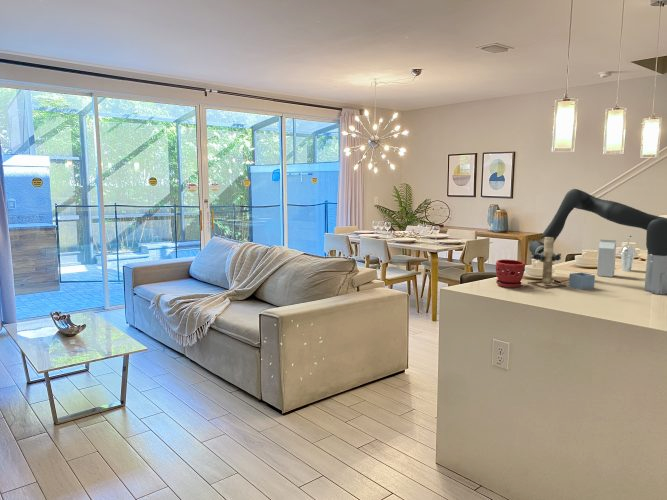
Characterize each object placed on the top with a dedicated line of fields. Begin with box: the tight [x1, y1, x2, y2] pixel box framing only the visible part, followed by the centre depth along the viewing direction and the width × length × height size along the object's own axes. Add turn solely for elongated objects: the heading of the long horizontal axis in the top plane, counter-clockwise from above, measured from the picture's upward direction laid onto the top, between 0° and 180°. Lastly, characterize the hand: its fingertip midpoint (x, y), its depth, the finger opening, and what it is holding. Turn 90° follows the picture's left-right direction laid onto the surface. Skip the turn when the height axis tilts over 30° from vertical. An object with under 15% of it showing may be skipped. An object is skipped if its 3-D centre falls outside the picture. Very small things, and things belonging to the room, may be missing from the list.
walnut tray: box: [527, 280, 567, 290], centre depth 235 cm, size 12×12×2 cm
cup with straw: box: [618, 235, 637, 272], centre depth 274 cm, size 8×9×20 cm
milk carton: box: [596, 239, 617, 278], centre depth 260 cm, size 7×7×19 cm
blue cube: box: [568, 272, 596, 291], centre depth 229 cm, size 7×7×7 cm
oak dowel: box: [541, 237, 555, 285], centre depth 234 cm, size 4×4×22 cm
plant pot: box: [495, 259, 526, 289], centre depth 237 cm, size 13×13×12 cm
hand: (548, 259), depth 231 cm, fingers closed on oak dowel, 4 cm apart
